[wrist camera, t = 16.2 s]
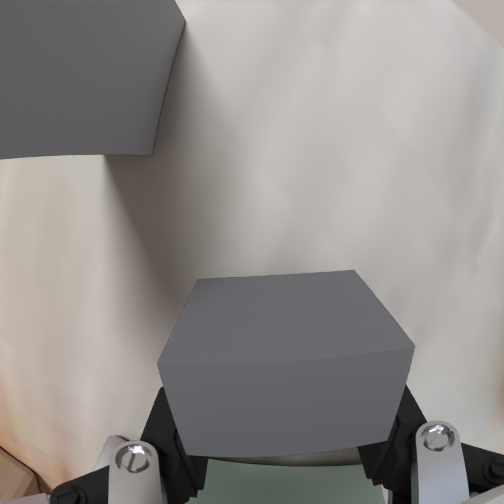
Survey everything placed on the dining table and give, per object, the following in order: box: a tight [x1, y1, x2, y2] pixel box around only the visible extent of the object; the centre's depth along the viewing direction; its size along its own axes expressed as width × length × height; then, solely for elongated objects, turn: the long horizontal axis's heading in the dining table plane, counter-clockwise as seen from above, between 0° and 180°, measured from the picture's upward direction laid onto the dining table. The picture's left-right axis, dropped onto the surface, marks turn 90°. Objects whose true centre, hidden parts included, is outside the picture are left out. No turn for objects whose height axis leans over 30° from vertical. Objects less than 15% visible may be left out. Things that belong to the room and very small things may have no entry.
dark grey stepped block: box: [157, 270, 415, 458], centre depth 8 cm, size 6×5×4 cm
